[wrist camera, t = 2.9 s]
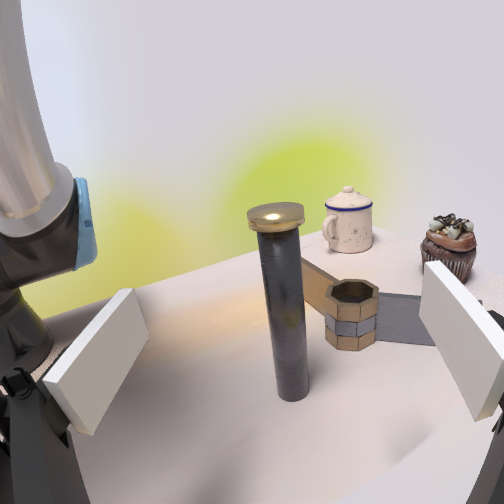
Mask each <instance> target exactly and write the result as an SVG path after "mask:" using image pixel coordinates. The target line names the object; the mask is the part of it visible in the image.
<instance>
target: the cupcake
mask: <svg viewBox="0 0 504 504" xmlns="http://www.w3.org/2000/svg"><path fill="white" fill-rule="evenodd" d="M443 218H445V219H443ZM429 227H430V229H429V230H428V231H427V232H426V238H425V239H424V240H423V243H421V246H420V248H421V254H422V262H423V276H424V264H425V262H430V261H438V260H440V261H441V262H442V263H443V264H444V265H445V266H446V267H447V268H448V269H449V270H450V272H451V273H452V274H453V275H454V276H455V277H456V278H457V279H458V280H459V281H460V282H461V283H462V284H465V283H466V282H467V280H468V277H469V274H470V271H471V268H472V265H473V263H474V260H475V257H476V246H477V244H476V239H475V236H474V233H473V227H474V225H473V223H472V222H471V221H469V220H468V219H467V220H466V219H461V218H459V219H458V220H456V218H455V215H454V214H449V215H448V216H446V217H442V216H438V217H434V220H433V221H431V222H429Z"/></svg>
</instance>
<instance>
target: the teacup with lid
mask: <svg viewBox="0 0 504 504" xmlns="http://www.w3.org/2000/svg"><path fill="white" fill-rule="evenodd" d="M372 204H373V203H372V201H371V199H370V198H369V197H367V196H364V195H361V194H360V193H358V192H355V191H353V187H352V186H345V187H343V192H340V193H338V194H337V195H336V196H333V197H330V198H329V199H327V200H326V203H325V206H326V207H327V218H326V219H325V220H324V222H323V225H322V232H323V236H324V238H325V239H326V240H327V241H329V246H330V248H331V249H333V250H334V251H337V252H341V253H358V252H362V251H365V250H367V249H369V248H370V247H371V245H372V211H371V206H372Z"/></svg>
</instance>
